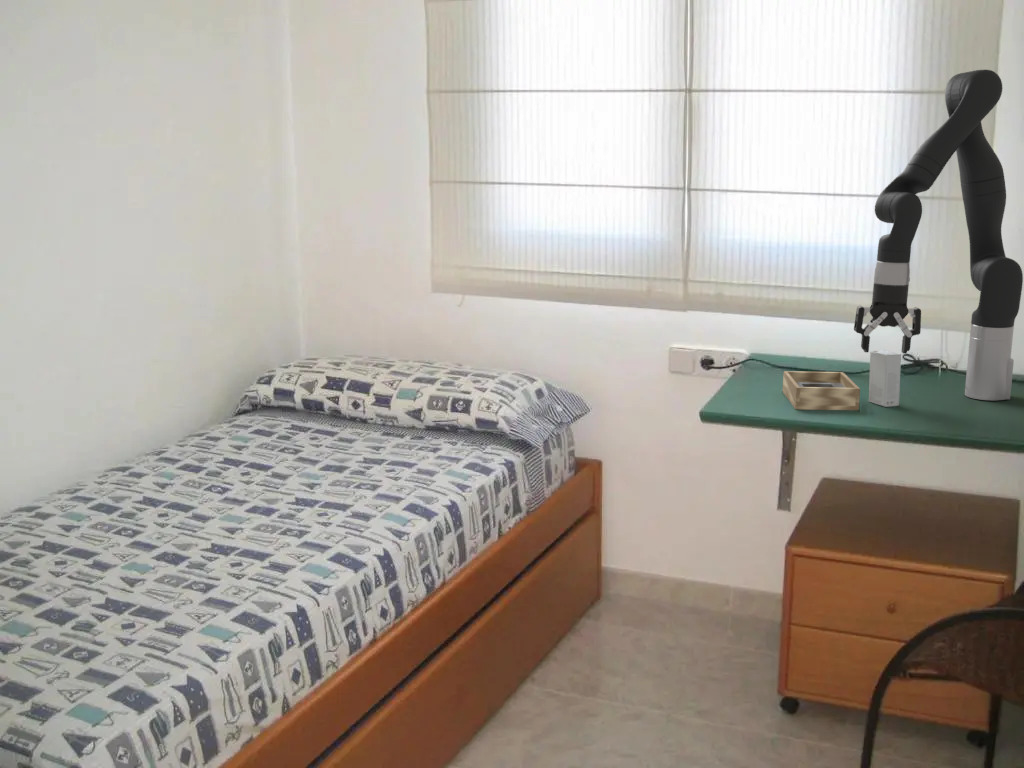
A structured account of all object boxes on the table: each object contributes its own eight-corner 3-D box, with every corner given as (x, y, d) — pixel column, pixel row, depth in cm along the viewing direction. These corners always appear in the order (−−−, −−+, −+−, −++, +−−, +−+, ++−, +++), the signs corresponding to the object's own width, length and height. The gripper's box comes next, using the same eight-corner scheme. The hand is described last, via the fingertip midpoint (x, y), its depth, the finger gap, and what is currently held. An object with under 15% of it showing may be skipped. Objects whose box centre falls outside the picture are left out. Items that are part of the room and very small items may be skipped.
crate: (841, 392, 269) (842, 372, 268) (858, 410, 252) (860, 388, 250) (782, 391, 270) (783, 371, 269) (795, 409, 253) (796, 387, 251)
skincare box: (899, 406, 256) (903, 353, 253) (883, 407, 254) (887, 355, 252) (882, 400, 261) (886, 349, 259) (866, 401, 260) (869, 350, 257)
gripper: (919, 280, 255) (912, 350, 259) (855, 278, 256) (849, 348, 260) (928, 284, 248) (921, 356, 251) (862, 282, 249) (856, 354, 252)
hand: (884, 352), depth 255 cm, fingers open, 8 cm apart
